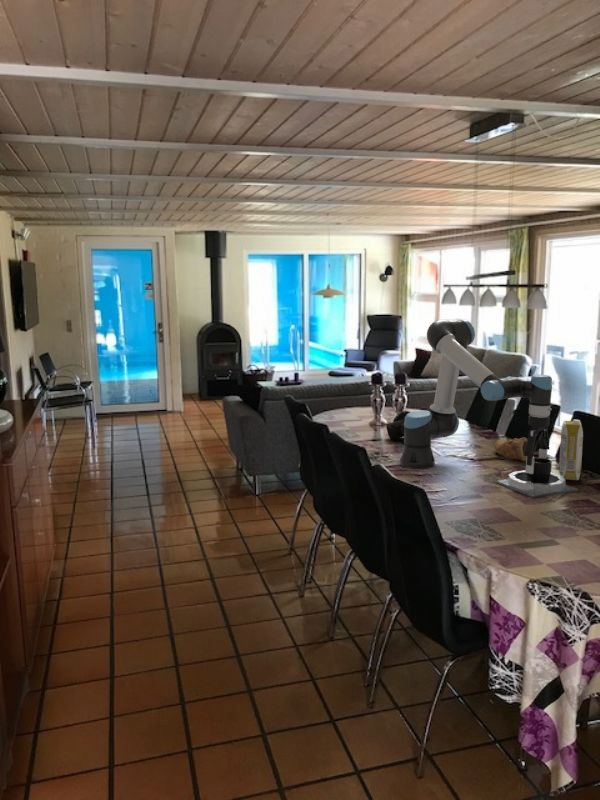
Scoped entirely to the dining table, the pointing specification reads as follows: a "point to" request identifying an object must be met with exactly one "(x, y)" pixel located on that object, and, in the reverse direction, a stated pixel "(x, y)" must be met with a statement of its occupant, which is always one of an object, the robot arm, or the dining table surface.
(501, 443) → the clay pipe
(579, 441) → the juice carton
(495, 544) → the dining table surface
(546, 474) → the mug
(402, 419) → the valve
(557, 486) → the duct collar
